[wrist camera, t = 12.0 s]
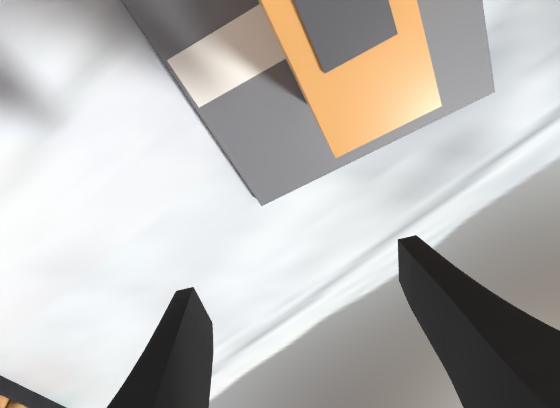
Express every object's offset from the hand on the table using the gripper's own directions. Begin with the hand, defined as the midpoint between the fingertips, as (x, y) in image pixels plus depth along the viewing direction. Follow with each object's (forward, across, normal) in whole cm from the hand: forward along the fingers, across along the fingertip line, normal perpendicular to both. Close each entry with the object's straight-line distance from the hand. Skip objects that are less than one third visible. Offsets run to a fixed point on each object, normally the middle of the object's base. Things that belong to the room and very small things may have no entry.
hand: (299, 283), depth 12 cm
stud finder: (+9, -3, -7) cm, 12 cm away
